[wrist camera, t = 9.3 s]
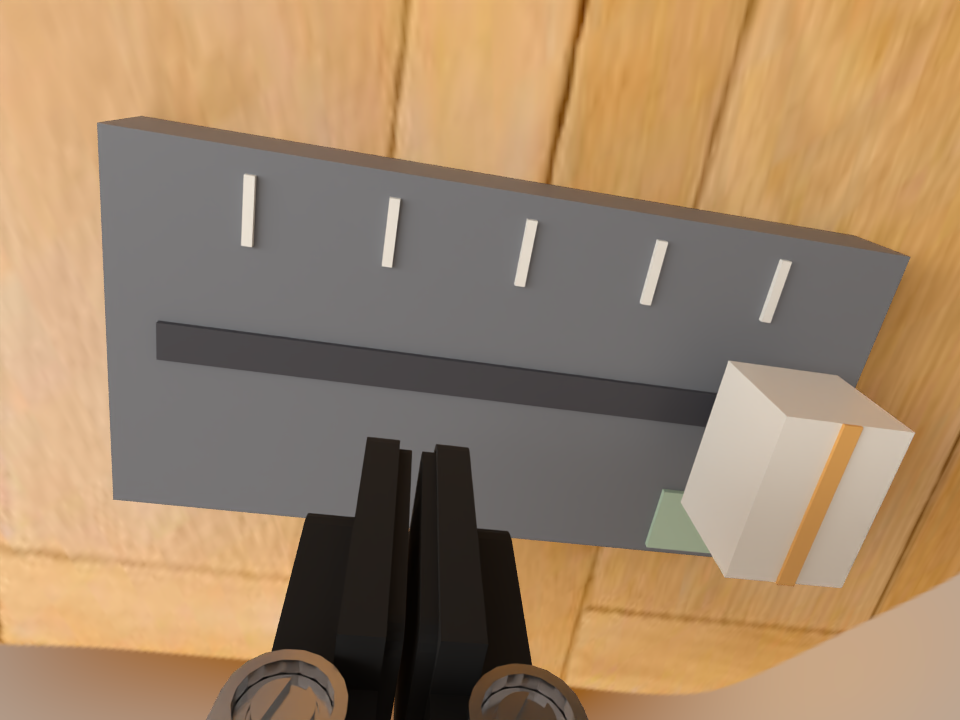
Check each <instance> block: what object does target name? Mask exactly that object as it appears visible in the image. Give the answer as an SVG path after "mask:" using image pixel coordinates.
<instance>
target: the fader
mask: <svg viewBox="0 0 960 720" xmlns="http://www.w3.org/2000/svg"><path fill="white" fill-rule="evenodd" d="M914 434H915V432H914V431H912V430H911V429H909V428H908V427H907V426H905V425H904V424H903V423H901V422H900V421H899V420H897V419H896V418H895V417H893V416H892V415H891V414H889V413H888V412H886V411H885V410H884V409H882V408H881V407H880V406H878V405H877V404H876V403H874V402H873V401H872V400H870V399H869V398H867V397H866V396H865V395H863V394H862V393H861V392H859V391H858V390H857V389H855V388H854V387H853V386H851V385H850V384H849V383H847V382H846V381H844V380H843V379H842V378H840V377H839V376H838V375H831V374H823V373H816V372H809V371H801V370H794V369H787V368H780V367H772V366H765V365H758V364H750V363H743V362H736V361H728V364H727V367H726V370H725V373H724V375H723V378H722V381H721V384H720V387H719V390H718V393H717V396H716V399H715V402H714V405H713V408H712V411H711V414H710V417H709V420H708V423H707V426H706V429H705V432H704V435H703V438H702V441H701V444H700V446H699V449H698V452H697V455H696V458H695V461H694V464H693V467H692V470H691V473H690V476H689V479H688V482H687V485H686V488H685V491H684V494H683V497H682V500H681V504H682V506H683V507H684V509H685V511H686V512H687V514H688V516H689V517H690V519H691V521H692V523H693V524H694V526H695V528H696V529H697V531H698V533H699V534H700V536H701V538H702V540H703V541H704V543H705V545H706V546H707V548H708V550H709V551H710V553H711V555H712V557H713V558H714V560H715V562H716V563H717V565H718V567H719V568H720V570H721V572H722V574H723V575H724V577H726V578H737V579H748V580H759V581H770V582H776V583H777V585H787V586H794V585H795V584H802V585H813V586H824V587H835V588H842V586H843V584H844V582H845V580H846V578H847V576H848V574H849V571H850V569H851V567H852V565H853V563H854V561H855V559H856V557H857V555H858V553H859V550H860V548H861V546H862V544H863V542H864V540H865V538H866V536H867V534H868V531H869V529H870V527H871V525H872V523H873V521H874V519H875V517H876V515H877V512H878V510H879V508H880V506H881V504H882V502H883V500H884V498H885V496H886V493H887V491H888V489H889V487H890V485H891V483H892V481H893V479H894V477H895V474H896V472H897V470H898V468H899V466H900V464H901V462H902V460H903V458H904V455H905V453H906V451H907V449H908V447H909V445H910V443H911V441H912V439H913V436H914Z"/></svg>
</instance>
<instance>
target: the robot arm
mask: <svg viewBox="0 0 960 720" xmlns="http://www.w3.org/2000/svg"><path fill="white" fill-rule="evenodd" d="M411 468H412V450H405V449H400V440H395V439H385V438H376V437H367V441H366V447H365V454H364V460H363V467H362V473H361V480H360V486H359V493H358V499H357V506H356V512H355V517H348V516H337V515H326V514H315V513H308V514H307V516H306V519H305V522H304V526H303V530H302V534H301V538H300V542H299V546H298V550H297V554H296V558H295V562H294V566H293V569H292V573H291V577H290V581H289V585H288V589H287V593H286V597H285V601H284V605H283V609H282V613H281V617H280V621H279V624H278V628H277V632H276V636H275V640H274V644H273V648H272V652H267V653H264V654H262V655H260V656H258V657H256V658H253V659H251V660H249V661H247V662H246V663H245V664H244V665H242V666H241V667H240V668H239V669H237V670H236V671H235V672H234V673H233V674H232V675H231V676H230V678H229V679H228V681H227V682H226V683H225V685H224V686H223V688H222V689H221V691H220V693H219V695H218V697H217V699H216V701H215V703H214V705H213V707H212V709H211V711H210V713H209V715H208V717H207V719H206V720H391V715H392V709H393V703H394V720H588V718H587V715H586V713H585V710H584V708H583V707H582V705H581V703H580V701H579V699H578V697H577V696H576V694H575V693H574V692H573V691H572V690H571V689H570V688H569V686H568V685H567V684H566V683H565V682H564V681H563V680H561V679H560V678H558V677H557V676H555V675H553V674H552V673H550V672H549V671H547V670H544V669H541V668H538V667H535V666H532V662H531V656H530V650H529V644H528V637H527V631H526V625H525V619H524V613H523V607H522V600H521V594H520V588H519V582H518V576H517V570H516V564H515V557H514V551H513V545H512V540H511V536H510V533H509V532H508V531H502V530H491V529H480V528H477V523H476V512H475V502H474V491H473V481H472V471H471V460H470V451H469V448H468V447H460V446H451V445H441V444H436V445H435V449H434V452H424V451H422V455H421V460H420V466H419V473H418V479H417V485H416V491H415V498H414V504H413V510H412V517H411V523H410V529H409V518H410V493H411ZM394 697H395V701H394Z"/></svg>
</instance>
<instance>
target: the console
mask: <svg viewBox="0 0 960 720" xmlns="http://www.w3.org/2000/svg"><path fill="white" fill-rule="evenodd" d="M97 130H98V153H99V176H100V200H101V223H102V246H103V269H104V293H105V316H106V339H107V362H108V386H109V409H110V432H111V455H112V478H113V500H123V501H134V502H144V503H155V504H165V505H176V506H186V507H196V508H207V509H217V510H228V511H238V512H248V513H259V514H269V515H280V516H290V517H301V518H306V516H307V514H308V513H315V514H326V515H337V516H348V517H355V512H356V506H357V499H358V493H359V486H360V480H361V473H362V467H363V460H364V454H365V447H366V441H367V437H376V438H385V439H395V440H400V449H405V450H412V468H411V493H410V518H409V528H410V523H411V517H412V510H413V504H414V498H415V491H416V485H417V479H418V473H419V466H420V460H421V455H422V451H424V452H434V449H435V445H436V444H441V445H451V446H460V447H468V448H469V451H470V460H471V471H472V481H473V491H474V502H475V512H476V523H477V528H480V529H491V530H502V531H508V532H509V533H510V536H511V538H519V539H530V540H540V541H551V542H561V543H572V544H582V545H592V546H603V547H613V548H624V549H634V550H644V551H655V552H665V553H676V554H686V555H697V556H707V557H712V555H711V553H710V551H709V550H708V548H707V546H706V545H705V543H704V541H703V540H702V538H701V536H700V534H699V533H698V531H697V529H696V528H695V526H694V524H693V523H692V521H691V519H690V517H689V516H688V514H687V512H686V511H685V509H684V507H683V506H682V504H681V500H682V497H683V494H684V491H685V488H686V485H687V482H688V479H689V476H690V473H691V470H692V467H693V464H694V461H695V458H696V455H697V452H698V449H699V446H700V444H701V441H702V438H703V435H704V432H705V429H706V426H707V423H708V420H709V417H710V414H711V411H712V408H713V405H714V402H715V399H716V396H717V393H718V390H719V387H720V384H721V381H722V378H723V375H724V373H725V370H726V367H727V364H728V361H736V362H743V363H750V364H758V365H765V366H772V367H780V368H787V369H794V370H801V371H809V372H816V373H823V374H831V375H838V376H839V377H840V378H842V379H843V380H844V381H846V382H847V383H849V384H850V385H851V386H853V387H854V388H855V387H856V385H857V382H858V380H859V378H860V375H861V373H862V370H863V368H864V366H865V363H866V361H867V359H868V356H869V354H870V352H871V349H872V347H873V344H874V342H875V340H876V337H877V335H878V333H879V330H880V328H881V326H882V323H883V321H884V318H885V316H886V314H887V311H888V309H889V307H890V304H891V302H892V300H893V297H894V295H895V292H896V290H897V288H898V285H899V283H900V281H901V278H902V276H903V274H904V271H905V269H906V266H907V264H908V262H909V259H910V257H909V256H906V255H904V254H901V253H899V252H896V251H893V250H891V249H888V248H885V247H883V246H880V245H878V244H875V243H872V242H870V241H867V240H865V239H862V238H859V237H857V236H853V235H847V234H841V233H835V232H830V231H824V230H818V229H812V228H806V227H800V226H794V225H788V224H782V223H776V222H770V221H764V220H758V219H752V218H746V217H740V216H734V215H728V214H722V213H716V212H710V211H704V210H698V209H692V208H686V207H680V206H674V205H669V204H663V203H657V202H651V201H645V200H639V199H633V198H627V197H621V196H615V195H609V194H603V193H597V192H591V191H585V190H579V189H573V188H567V187H561V186H555V185H549V184H543V183H537V182H531V181H525V180H519V179H513V178H507V177H502V176H496V175H490V174H484V173H478V172H472V171H466V170H460V169H454V168H448V167H442V166H436V165H430V164H424V163H418V162H412V161H406V160H400V159H394V158H388V157H382V156H376V155H370V154H364V153H358V152H352V151H346V150H340V149H335V148H329V147H323V146H317V145H311V144H305V143H299V142H293V141H287V140H281V139H275V138H269V137H263V136H257V135H251V134H245V133H239V132H233V131H227V130H221V129H215V128H209V127H203V126H197V125H191V124H185V123H179V122H173V121H168V120H162V119H156V118H150V117H144V116H139V117H132V118H126V119H119V120H112V121H106V122H99V123H97Z"/></svg>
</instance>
